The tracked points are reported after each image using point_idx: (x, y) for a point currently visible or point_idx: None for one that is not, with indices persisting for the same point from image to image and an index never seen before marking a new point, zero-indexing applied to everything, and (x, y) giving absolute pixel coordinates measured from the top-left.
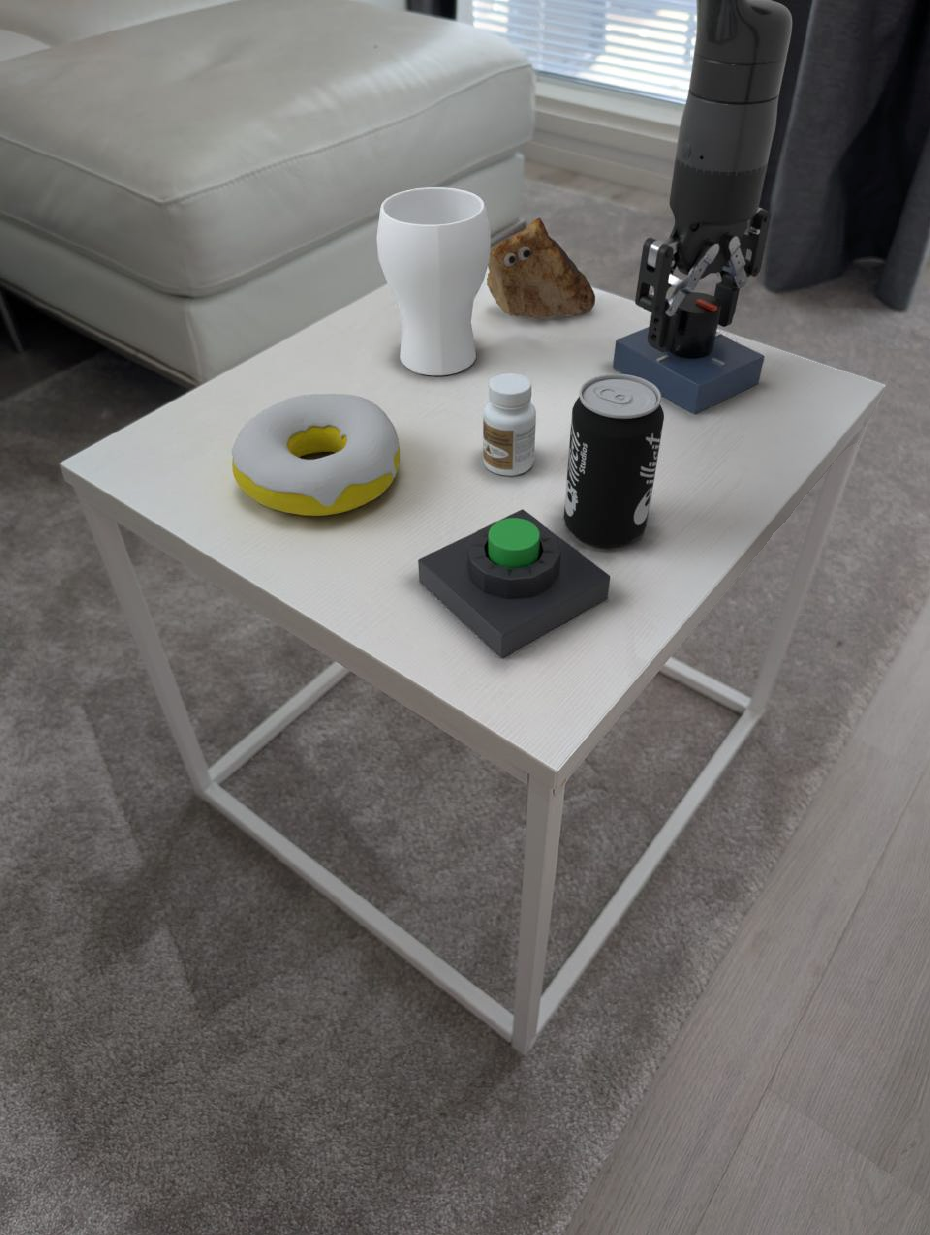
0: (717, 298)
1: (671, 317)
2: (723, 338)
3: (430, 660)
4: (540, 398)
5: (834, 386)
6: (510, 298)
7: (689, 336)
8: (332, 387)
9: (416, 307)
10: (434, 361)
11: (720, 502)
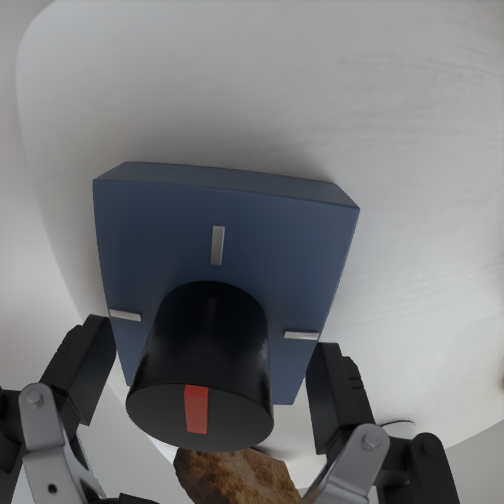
0: (96, 390)
1: (357, 420)
2: (115, 297)
3: None
4: (414, 362)
5: (35, 69)
6: (286, 478)
7: (263, 349)
8: (449, 428)
9: None
10: (415, 435)
11: (500, 37)
